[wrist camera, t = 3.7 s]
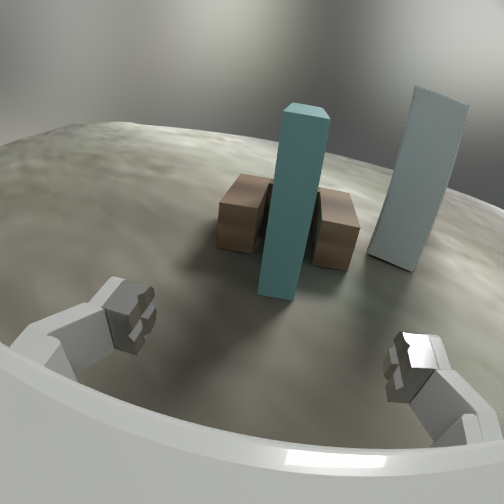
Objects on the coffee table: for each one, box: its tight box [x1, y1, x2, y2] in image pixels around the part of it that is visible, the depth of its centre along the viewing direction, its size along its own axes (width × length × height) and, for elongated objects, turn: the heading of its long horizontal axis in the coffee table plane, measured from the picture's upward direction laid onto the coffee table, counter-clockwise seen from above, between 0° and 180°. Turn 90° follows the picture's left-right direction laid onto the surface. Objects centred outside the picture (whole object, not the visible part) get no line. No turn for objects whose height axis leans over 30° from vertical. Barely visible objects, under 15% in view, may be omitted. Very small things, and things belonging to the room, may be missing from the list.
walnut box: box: [217, 174, 360, 271], centre depth 28 cm, size 8×11×4 cm
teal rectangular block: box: [257, 103, 330, 301], centre depth 23 cm, size 10×2×12 cm, turn 170°
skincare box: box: [367, 86, 469, 272], centre depth 31 cm, size 21×5×16 cm, turn 148°
